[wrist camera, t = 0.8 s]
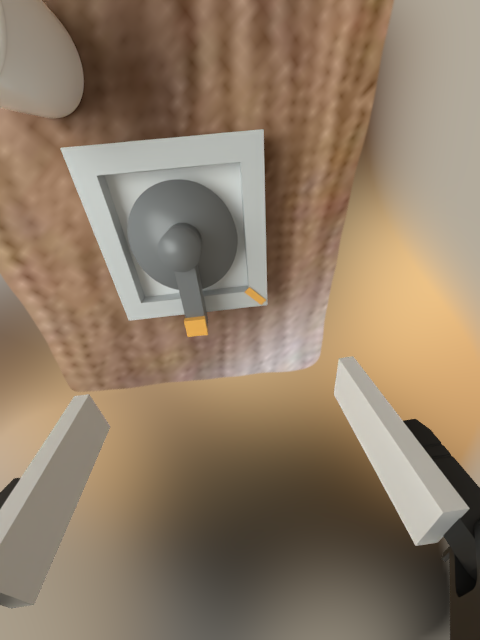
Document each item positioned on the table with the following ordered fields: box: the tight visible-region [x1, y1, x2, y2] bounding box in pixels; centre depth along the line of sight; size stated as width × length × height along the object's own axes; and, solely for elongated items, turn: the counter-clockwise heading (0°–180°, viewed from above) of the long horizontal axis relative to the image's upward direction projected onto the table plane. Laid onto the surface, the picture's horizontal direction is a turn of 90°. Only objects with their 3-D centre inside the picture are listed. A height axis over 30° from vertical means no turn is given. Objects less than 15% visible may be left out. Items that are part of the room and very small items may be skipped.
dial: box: [128, 179, 238, 337], centre depth 28 cm, size 18×13×6 cm
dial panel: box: [60, 129, 267, 320], centre depth 30 cm, size 20×20×4 cm
